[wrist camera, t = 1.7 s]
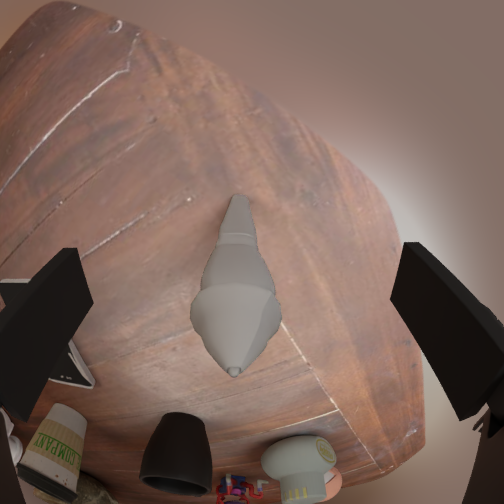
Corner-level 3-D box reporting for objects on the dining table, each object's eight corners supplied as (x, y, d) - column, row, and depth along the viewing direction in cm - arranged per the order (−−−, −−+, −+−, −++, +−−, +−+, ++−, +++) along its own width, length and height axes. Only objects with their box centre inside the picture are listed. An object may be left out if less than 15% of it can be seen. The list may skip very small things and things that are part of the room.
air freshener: (336, 443, 36) (347, 497, 27) (290, 458, 38) (295, 510, 29) (306, 421, 32) (316, 489, 23) (252, 439, 34) (254, 502, 25)
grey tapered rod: (220, 180, 18) (168, 337, 6) (262, 180, 18) (296, 338, 6) (220, 216, 19) (185, 402, 7) (261, 216, 19) (285, 403, 7)
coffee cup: (109, 431, 34) (89, 511, 21) (72, 429, 36) (50, 496, 22) (67, 395, 30) (34, 482, 17) (34, 395, 32) (2, 466, 18)
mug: (174, 445, 35) (167, 499, 27) (141, 405, 30) (125, 471, 21) (227, 446, 35) (226, 502, 26) (205, 405, 29) (199, 479, 21)
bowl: (145, 498, 58) (140, 536, 45) (76, 480, 59) (68, 514, 46) (102, 468, 46) (90, 519, 32) (28, 444, 46) (14, 483, 33)
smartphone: (40, 282, 21) (95, 389, 28) (46, 275, 22) (98, 381, 29) (-5, 282, 21) (49, 380, 28) (2, 276, 22) (53, 373, 29)
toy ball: (318, 455, 38) (325, 495, 31) (346, 458, 40) (354, 494, 33) (286, 469, 41) (289, 506, 34) (315, 473, 43) (320, 506, 36)
